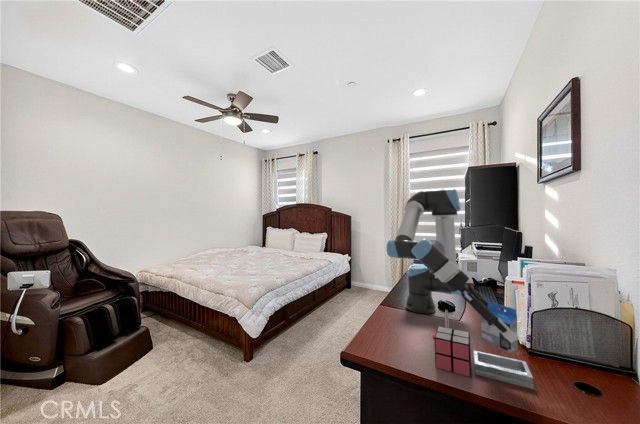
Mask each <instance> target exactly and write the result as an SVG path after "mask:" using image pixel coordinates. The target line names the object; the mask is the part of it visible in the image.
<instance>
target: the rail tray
mask: <svg viewBox="0 0 640 424" xmlns="http://www.w3.org/2000/svg"><path fill="white" fill-rule="evenodd" d="M473 362H474V363H473V364H474V373H475V375H478V376H481V377H485V378H489V379H492V380H496V381H501V382H504V383H507V384H513V385H516V386H519V387H523V388H527V389H531V390H535V386H534V377H533V375H532V373H531V370H530V368H529V366H528V363H527V362H526V361H525V360H520V359H515V358H511V357H506V356H502V355H498V354H492V353H487V352H484V351H483V352H482V351H478V350H476V349H475V350H474V349H473Z"/></svg>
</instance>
